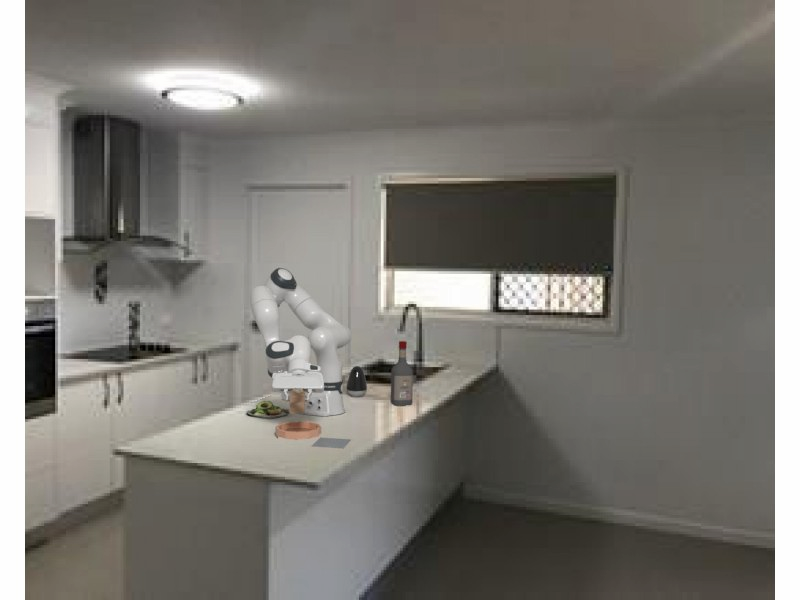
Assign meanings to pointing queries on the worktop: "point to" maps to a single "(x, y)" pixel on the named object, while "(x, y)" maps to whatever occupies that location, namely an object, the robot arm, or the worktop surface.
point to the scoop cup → (297, 400)
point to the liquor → (401, 379)
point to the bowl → (298, 430)
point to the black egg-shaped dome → (356, 382)
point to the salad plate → (267, 411)
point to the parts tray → (331, 442)
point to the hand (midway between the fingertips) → (297, 400)
